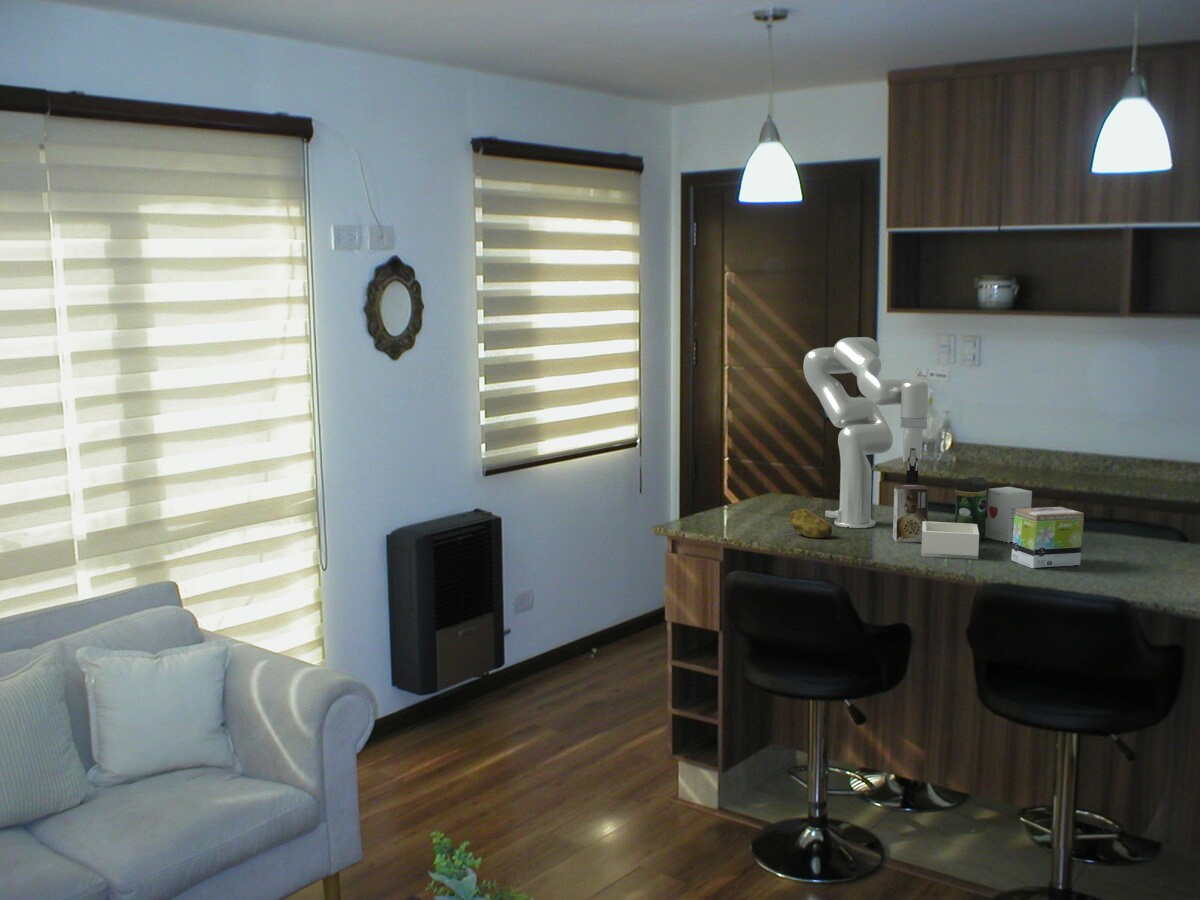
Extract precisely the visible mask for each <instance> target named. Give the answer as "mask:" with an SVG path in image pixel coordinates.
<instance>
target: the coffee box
mask: <svg viewBox="0 0 1200 900" xmlns="http://www.w3.org/2000/svg"><path fill="white" fill-rule="evenodd" d="M893 489H894V490H893V518H892V520H893V523H892V524H893V525H892V526H893V527H892V528H893V529H892V538H893V540H894V542H895V543H922V521H927V522H928V512H929V511H928V507H929V504H928V503H929V502H928V501H929V488H928V487H927V486H926V485H924V484H917V485H916V484H894V487H893Z"/></svg>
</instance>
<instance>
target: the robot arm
mask: <svg viewBox="0 0 1200 900" xmlns="http://www.w3.org/2000/svg"><path fill="white" fill-rule="evenodd" d="M879 356H880V347H879V344H878V343H877V341H876V340H875V339H873V338H871V337H869V336H867V337H866V336H865V337H864V336H862V337H861V336H860V337H855V336H854V337H844V338H841V339H839V340H837V342H836V343H835V345H834V346H832V347H828V346H827V347H818V348H814V349H812V350H810V351H808V352H807V353H806V354H805V356H804V360H803V374H804V378H805V381H806V382H807V384H808V385H809V387H810V388H811V390H812V391H813V392H814V393H815V395H816V396H817V399H818V400H819V402H820V403H821V406H822V408H823V410H824V411H825V413H826V415H827V417H828V419H829V421H830V422H831V423H832V424H833V426H834V427H836V428H840V429H841V430H840V431H839V433H838V438H837V444H838V449H839V458H840V482H839V483H840V484H839V490H840V491H839V508H838V509H837V510H834V511H833V510H825V512H824V513H825V514H824V517H825V518H826V517H828V518H835V519H834V521H833V523H834V525H835V526H838V527H842V528H847V527H849V529H867V528H868V527H869V528H873V527H875V526H876V521H875V520H874V519H872V518H871V512H872V511H871V508H872V507H871V505H872V472H873V471H872V467H871V466H872V465H871V463H870V460H869V459H868V457H867V455H877V454H878V455H879V454H883V453H887V452H888V451H889V450H890V449H891V448H892V446H893V442H894V440H893V439H894V438H893V434H892V431H891V428H890V427H889V424H888V423H887V421H886V420H885V417H884V416H883V414H882V412H881V411H880V409H879V407H878V406H888V405H889V406H891V405H892V406H893V405H897V406H898V405H900V428H899V429H902V430H903V441H902V442H903V443H902V463H904V464H905V463H906V462H907V466H906V478H905V479H906V485H919V463H921V457H922V451H923V450H922V449H923V436H924V435H923V430H927V429H928V409H929V408H928V406H929V405H928V404H929V402H928V401H929V386H928V383H927V382H925V381H920V380H911V379H908V378H907V379H906V378H898V379H897V378H893V379H880V378H879V377H877V376H878V375H879V373H880V372H881V369H882V362H881V361H882V360H880V358H879ZM849 373H852V374H853V375H854V376H855V377H856V383H857V388H858V390H859V392H860V393H861V394H862V395H863V397H860V396H859V397H852V396H849V394H848V393H847V392H846V390H845V388H844V386H843V385H842V383H841V382H840V381H838V380H837V379H836V378H835V377H834V376H832V374H833V375H834V374H849Z"/></svg>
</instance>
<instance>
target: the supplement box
mask: <svg viewBox="0 0 1200 900" xmlns="http://www.w3.org/2000/svg"><path fill="white" fill-rule="evenodd" d="M987 492H988V495H987V514H986V516H987V517H986V537H988V538H987V539H990V538H992V539H991V540H994V539H996V540H995V541H998V540H1000V541H999V542H1001V541H1004V542H1003V543H1005V542H1008V543H1007V544H1010V543H1009V542H1013V529H1014V516H1015V509H1022V508H1032V498H1033V497H1032V496H1033V491H1032V490H1028V489H1023V488H1019V487H1018V488H1017V487H1013V486H1005V487H1004V486H1002V487H994V488H987ZM986 537H985V538H986Z"/></svg>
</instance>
